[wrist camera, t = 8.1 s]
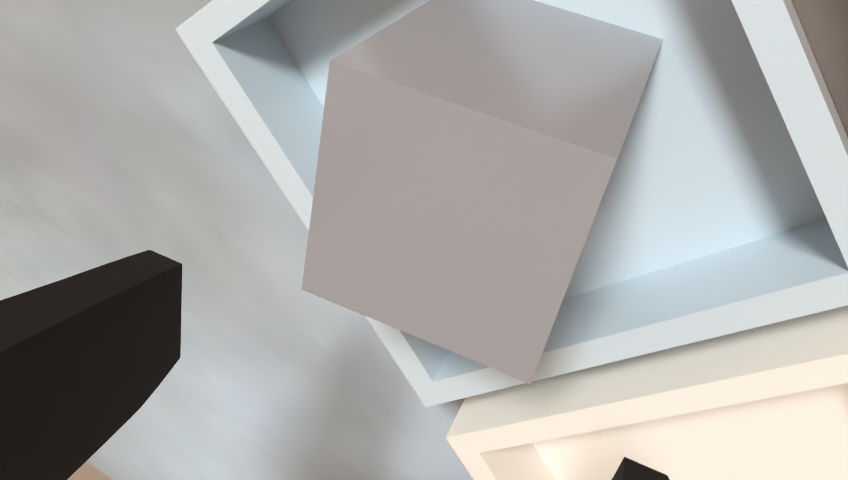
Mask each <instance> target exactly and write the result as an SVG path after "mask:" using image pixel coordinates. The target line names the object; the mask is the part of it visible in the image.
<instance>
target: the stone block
mask: <svg viewBox="0 0 848 480" xmlns="http://www.w3.org/2000/svg"><path fill="white" fill-rule="evenodd" d="M662 40H663V39H660V38H657V37H653V36H650V35H647V34H644V33H640V32H637V31H634V30H630V29H627V28H624V27H620V26H617V25H614V24H611V23H607V22H604V21H601V20H597V19H594V18H591V17H587V16H584V15H581V14H578V13H574V12H571V11H568V10H564V9H561V8H558V7H554V6H551V5H548V4H544V3H541V2H538V1H535V0H430V1H428V2H426V3H425V4H423V5H421V6H420V7H418V8H416V9H415V10H413V11H411V12H410V13H408V14H406V15H405V16H403V17H402V18H400V19H398V20H397V21H395V22H393V23H392V24H390V25H388V26H387V27H385V28H383V29H382V30H380V31H378V32H377V33H375V34H374V35H372V36H370V37H369V38H367V39H365V40H364V41H362V42H360V43H359V44H357V45H355V46H354V47H352V48H350V49H349V50H347V51H346V52H344V53H342V54H341V55H339V56H337V57H336V58H334V59H332V60H331V61H330V63H329V71H328V80H327V88H326V96H325V104H324V112H323V121H322V129H321V137H320V145H319V153H318V162H317V170H316V178H315V186H314V194H313V203H312V211H311V219H310V227H309V235H308V243H307V252H306V260H305V268H304V276H303V284H302V290H304V291H307V292H309V293H312V294H314V295H316V296H319V297H321V298H324V299H326V300H328V301H331V302H333V303H336V304H338V305H341V306H343V307H345V308H348V309H350V310H353V311H355V312H357V313H360V314H362V315H365V316H367V317H370V318H372V319H374V320H377V321H379V322H382V323H384V324H386V325H389V326H391V327H394V328H396V329H399V330H401V331H403V332H406V333H408V334H411V335H413V336H415V337H418V338H420V339H423V340H425V341H428V342H430V343H432V344H435V345H437V346H440V347H442V348H444V349H447V350H449V351H452V352H454V353H456V354H459V355H461V356H464V357H466V358H469V359H471V360H473V361H476V362H478V363H481V364H483V365H485V366H488V367H490V368H493V369H495V370H498V371H500V372H502V373H505V374H507V375H510V376H512V377H514V378H517V379H519V380H522V381H524V382H527V383H529V384H531V381H532V379H533V376H534V374H535V371H536V368H537V366H538V363H539V361H540V358H541V355H542V353H543V350H544V348H545V345H546V343H547V340H548V337H549V335H550V332H551V330H552V327H553V324H554V322H555V319H556V317H557V314H558V311H559V309H560V306H561V304H562V301H563V298H564V296H565V293H566V291H567V288H568V286H569V283H570V280H571V278H572V275H573V273H574V270H575V267H576V265H577V262H578V260H579V257H580V254H581V252H582V249H583V247H584V244H585V242H586V239H587V236H588V234H589V231H590V229H591V226H592V223H593V221H594V218H595V216H596V213H597V210H598V208H599V205H600V203H601V200H602V197H603V195H604V192H605V190H606V187H607V185H608V182H609V179H610V177H611V174H612V172H613V169H614V166H615V164H616V161H617V159H618V156H619V153H620V151H621V148H622V145H623V143H624V140H625V137H626V135H627V132H628V130H629V127H630V124H631V122H632V119H633V116H634V114H635V111H636V108H637V106H638V103H639V100H640V98H641V95H642V93H643V90H644V87H645V85H646V82H647V79H648V77H649V74H650V71H651V69H652V66H653V63H654V61H655V58H656V56H657V53H658V50H659V48H660V45H661V42H662Z"/></svg>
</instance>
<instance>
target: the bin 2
mask: <svg viewBox="0 0 848 480" xmlns="http://www.w3.org/2000/svg"><path fill="white" fill-rule="evenodd" d="M446 439H447V440H448V442H449V443H450V445H451V446H452V448H453V449H454V451H455V452H456V454H457V455H458V457H459V458H460V460H461V461H462V463H463V465H464V466H465V468H466V469H467V471H468V472H469V474H470V475H471V477H472V478H473V480H612V478H613V476H614V475H615V473H616V471H617V469H618V467H619V465H620V464H621V462H622V460H623V458H624V457H626V458H629V459H631V460H633V461H636V462H638V463H640V464H642V465H645V466H647V467H649V468H652V469H654V470H656V471H659V472H661V473H663V474H665V475H668V477H669V479H670V480H848V305H847V306H843V307H839V308H834V309H830V310H826V311H822V312H818V313H814V314H810V315H806V316H801V317H797V318H793V319H789V320H785V321H781V322H777V323H772V324H768V325H764V326H760V327H756V328H752V329H748V330H743V331H739V332H735V333H731V334H727V335H723V336H719V337H715V338H710V339H706V340H702V341H698V342H694V343H690V344H686V345H681V346H677V347H673V348H669V349H665V350H661V351H657V352H652V353H648V354H644V355H640V356H636V357H632V358H628V359H624V360H619V361H615V362H611V363H607V364H603V365H599V366H595V367H590V368H586V369H582V370H578V371H574V372H570V373H566V374H561V375H557V376H553V377H549V378H545V379H541V380H537V381H533V382H531V384H529V383H524V384H520V385H516V386H512V387H508V388H504V389H499V390H495V391H491V392H487V393H483V394H479V395H475V396H470V397H466V398H465V399H464V401H463V403H462V406H461V408H460V410H459V412H458V414H457V416H456V418H455V420H454V422H453V424H452V426H451V428H450V430H449V432H448V435H447V437H446Z"/></svg>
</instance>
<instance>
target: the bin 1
mask: <svg viewBox="0 0 848 480" xmlns="http://www.w3.org/2000/svg"><path fill="white" fill-rule="evenodd" d="M428 1H430V0H212V1H211V2H210V3H208V4H207V5H206V6H204V7H203V8H202V9H201V10H199V11H198V12H197V13H195V14H194V15H193V16H192V17H190V18H189V19H188V20H186V21H185V22H184V23H182V24H181V25H180V26H179V27H177V28H176V29H175V30H176V31H177V33H178V34H179V36H180V37H181V39H182V40H183V42H184V43H185V45H186V46H187V48H188V49H189V51H190V52H191V54H192V55H193V57H194V58H195V60H196V61H197V63H198V64H199V66H200V67H201V69H202V70H203V72H204V73H205V75H206V76H207V78H208V79H209V81H210V83H211V84H212V86H213V87H214V89H215V90H216V92H217V93H218V95H219V96H220V98H221V99H222V101H223V102H224V104H225V105H226V107H227V108H228V110H229V111H230V113H231V114H232V116H233V117H234V119H235V120H236V122H237V123H238V125H239V126H240V128H241V129H242V131H243V132H244V134H245V135H246V137H247V138H248V140H249V141H250V143H251V144H252V146H253V147H254V149H255V150H256V152H257V153H258V155H259V156H260V158H261V160H262V161H263V163H264V164H265V166H266V167H267V169H268V170H269V172H270V173H271V175H272V176H273V178H274V179H275V181H276V182H277V184H278V185H279V187H280V188H281V190H282V191H283V193H284V194H285V196H286V197H287V199H288V200H289V202H290V203H291V205H292V206H293V208H294V209H295V211H296V212H297V214H298V215H299V217H300V218H301V220H302V221H303V223H304V224H305V226H306V227H307V229H308V230H309V227H310V219H311V211H312V203H313V194H314V186H315V178H316V170H317V162H318V153H319V145H320V137H321V129H322V121H323V112H324V104H325V96H326V88H327V80H328V71H329V63H330V61H331V60H332V59H334V58H336V57H337V56H339V55H341V54H342V53H344V52H346V51H347V50H349V49H350V48H352V47H354V46H355V45H357V44H359V43H360V42H362V41H364V40H365V39H367V38H369V37H370V36H372V35H374V34H375V33H377V32H378V31H380V30H382V29H383V28H385V27H387V26H388V25H390V24H392V23H393V22H395V21H397V20H398V19H400V18H402V17H403V16H405V15H406V14H408V13H410V12H411V11H413V10H415V9H416V8H418V7H420V6H421V5H423V4H425V3H426V2H428ZM535 1H538V2H541V3H544V4H548V5H551V6H554V7H558V8H561V9H564V10H568V11H571V12H574V13H578V14H581V15H584V16H587V17H591V18H594V19H597V20H601V21H604V22H607V23H611V24H614V25H617V26H620V27H624V28H627V29H630V30H634V31H637V32H640V33H644V34H647V35H650V36H653V37H657V38H660V39H663V40H662V42H661V45H660V48H659V50H658V53H657V56H656V58H655V61H654V63H653V66H652V69H651V71H650V74H649V77H648V79H647V82H646V85H645V87H644V90H643V93H642V95H641V98H640V100H639V103H638V106H637V108H636V111H635V114H634V116H633V119H632V122H631V124H630V127H629V130H628V132H627V135H626V137H625V140H624V143H623V145H622V148H621V151H620V153H619V156H618V159H617V161H616V164H615V166H614V169H613V172H612V174H611V177H610V179H609V182H608V185H607V187H606V190H605V192H604V195H603V197H602V200H601V203H600V205H599V208H598V210H597V213H596V216H595V218H594V221H593V223H592V226H591V229H590V231H589V234H588V236H587V239H586V242H585V244H584V247H583V249H582V252H581V254H580V257H579V260H578V262H577V265H576V267H575V270H574V273H573V275H572V278H571V280H570V283H569V286H568V288H567V291H566V293H565V296H564V298H563V301H562V304H561V306H560V309H559V311H558V314H557V317H556V319H555V322H554V324H553V327H552V330H551V332H550V335H549V337H548V340H547V343H546V345H545V348H544V350H543V353H542V355H541V358H540V361H539V363H538V366H537V368H536V371H535V374H534V376H533V379H532V381H531V382H533V381H537V380H541V379H545V378H549V377H553V376H557V375H561V374H566V373H570V372H574V371H578V370H582V369H586V368H590V367H595V366H599V365H603V364H607V363H611V362H615V361H619V360H624V359H628V358H632V357H636V356H640V355H644V354H648V353H652V352H657V351H661V350H665V349H669V348H673V347H677V346H681V345H686V344H690V343H694V342H698V341H702V340H706V339H710V338H715V337H719V336H723V335H727V334H731V333H735V332H739V331H743V330H748V329H752V328H756V327H760V326H764V325H768V324H772V323H777V322H781V321H785V320H789V319H793V318H797V317H801V316H806V315H810V314H814V313H818V312H822V311H826V310H830V309H834V308H839V307H843V306H847V305H848V137H847V135H846V132H845V130H844V128H843V125H842V123H841V120H840V118H839V115H838V113H837V111H836V108H835V106H834V103H833V101H832V98H831V96H830V94H829V91H828V89H827V86H826V84H825V81H824V79H823V77H822V74H821V72H820V69H819V67H818V65H817V62H816V60H815V57H814V55H813V52H812V50H811V48H810V45H809V43H808V40H807V38H806V35H805V33H804V31H803V28H802V26H801V23H800V21H799V18H798V16H797V14H796V11H795V9H794V6H793V4H792V1H791V0H535ZM365 317H366V318H367V320H368V321H369V323H370V324H371V326H372V327H373V329H374V330H375V332H376V333H377V335H378V336H379V338H380V339H381V341H382V342H383V344H384V345H385V347H386V348H387V350H388V351H389V353H390V354H391V356H392V357H393V359H394V360H395V362H396V363H397V365H398V366H399V368H400V369H401V371H402V372H403V374H404V375H405V377H406V378H407V380H408V381H409V383H410V384H411V386H412V388H413V389H414V391H415V392H416V394H417V395H418V397H419V398H420V400H421V401H422V403H423V404H424V406H425V407H429V406H433V405H437V404H442V403H446V402H450V401H454V400H458V399H462V398H466V397H470V396H475V395H479V394H483V393H487V392H491V391H495V390H499V389H504V388H508V387H512V386H516V385H520V384H524V383H527V382H524V381H522V380H519V379H517V378H514V377H512V376H510V375H507V374H505V373H502V372H500V371H498V370H495V369H493V368H490V367H488V366H485V365H483V364H481V363H478V362H476V361H473V360H471V359H469V358H466V357H464V356H461V355H459V354H456V353H454V352H452V351H449V350H447V349H444V348H442V347H440V346H437V345H435V344H432V343H430V342H428V341H425V340H423V339H420V338H418V337H415V336H413V335H411V334H408V333H406V332H403V331H401V330H399V329H396V328H394V327H391V326H389V325H386V324H384V323H382V322H379V321H377V320H374V319H372V318H370V317H367V316H365Z"/></svg>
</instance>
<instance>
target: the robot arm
mask: <svg viewBox="0 0 848 480" xmlns="http://www.w3.org/2000/svg"><path fill="white" fill-rule="evenodd" d="M181 293H182V264H181V263H179V262H176V261H174V260H172V259H169V258H167V257H165V256H163V255H160V254H158V253H156V252H153V251H151V250H148V251H145V252H141V253H138V254H135V255H132V256H129V257H126V258H123V259H120V260H117V261H114V262H111V263H108V264H105V265H102V266H100V267H97V268H94V269H91V270H88V271H85V272H83V273H80V274H77V275H74V276H71V277H68V278H65V279H63V280H60V281H57V282H54V283H51V284H48V285H45V286H42V287H39V288H36V289H33V290H30V291H28V292H25V293H22V294H19V295H16V296H13V297H10V298H7V299H4V300H1V301H0V480H67V479H68V478H69V477H70V476H71V475H72V474H73V473H74V472H75V471H76V470H77V469H78V468H79V467H80V466H81V465H83V464H84V463H85V462H86V461H87V460H88V459H89V458H90V457H91V456H92V455H93V454H94V453H95V452H96V451H97V450H98V449H99V448H100V447H101V446H102V445H103V444H104V443H105V442H106V441H107V440H108V439H109V438H110V437H111V436H112V435H113V434H114V433H115V432H116V431H117V430H119V429H120V428H121V427H122V426H123V425H124V424H125V423H126V422H127V421H128V420H129V419H130V418H131V417H132V416H133V415H134V414H135V413H136V412H137V411H138V410H139V409H140V408H141V406H142V405H143V404H144V403H145V401H146V400H147V399H148V398H149V397H150V395H151V394H152V393H153V392H154V391H155V389H156V388H157V387H158V386H159V384H160V383H161V382H162V381H163V379H164V378H165V377H166V375H167V374H168V373H169V371H170V370H171V369H172V368H173V366H174V365H175V364H176V362H177V361H178V360H179V358H180V344H181ZM612 480H670V479H669V477H668V475H665V474H663V473H661V472H659V471H656V470H654V469H652V468H649V467H647V466H645V465H642V464H640V463H638V462H636V461H633V460H631V459H629V458H626V457H624V458H623V460H622V462H621V464H620V465H619V467H618V469H617V471H616V473H615V475H614V476H613V478H612Z"/></svg>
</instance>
